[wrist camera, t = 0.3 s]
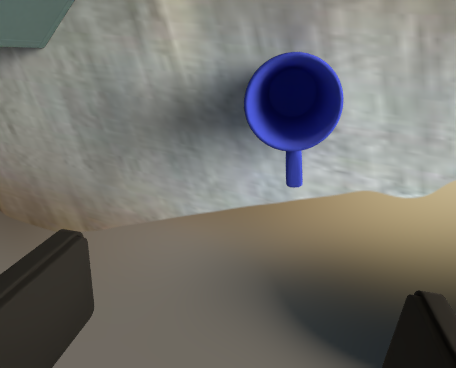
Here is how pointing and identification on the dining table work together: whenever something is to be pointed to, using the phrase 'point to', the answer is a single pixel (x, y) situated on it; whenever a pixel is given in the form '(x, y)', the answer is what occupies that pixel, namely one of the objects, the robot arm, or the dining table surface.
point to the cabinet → (30, 21)
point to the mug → (293, 106)
